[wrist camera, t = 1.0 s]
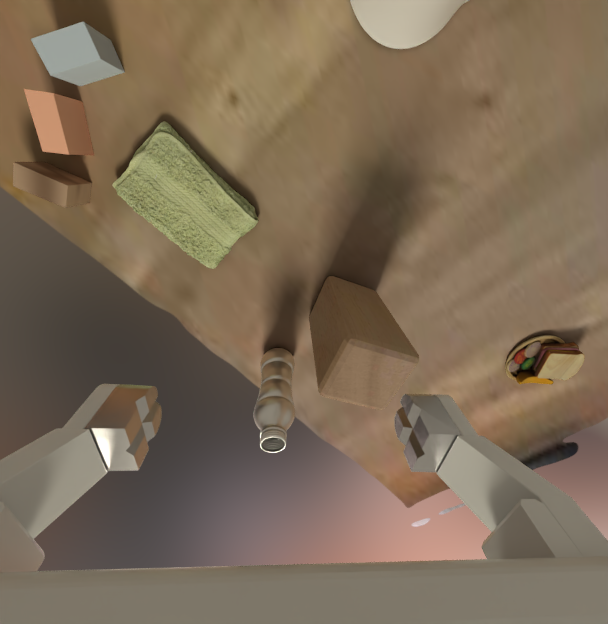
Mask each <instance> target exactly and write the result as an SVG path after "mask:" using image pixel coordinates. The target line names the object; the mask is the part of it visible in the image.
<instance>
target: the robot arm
mask: <svg viewBox="0 0 608 624" xmlns="http://www.w3.org/2000/svg"><path fill="white" fill-rule="evenodd" d="M467 1H469V0H350V2H351V5H352V8H353V10H354V13H355V15H356V17H357V19H358V21H359V23H360V24H361V26H362V27H363V29H364V30H365V31H366V32H367V33H368V35H369V36H370V37H372V38H373V39H374V40H375V41H377V42H378V43H380V44H382V45H384V46H387V47H390V48H395V49H407V48H412V47H415V46H418V45H420V44H422V43H424V42H426V41H428V40H429V39H431V38H432V37H433V36H435V35H436V34H437V33H438V32H439V31H440V30H441V29H442V28H443V27H444V26H445V25H446V24H447V23H448V21H449V20H450V19H451V17H452V16H453V15H454V13H455V12H456V11H457V10H458V9H459V7H460V6H461V5H462V4H464V3H465V2H467ZM157 396H158V393H157V389H156V387H154V386H140V385H122V384H120V385H116V384H102V385H100V386H98V387H97V388H96V389H95V390H94V391H93V393H92V394H91V395H90V396H89V397H88V399H87V400H86V401H85V402H84V403H83V405H82V406H81V407H80V408H79V409H78V410H77V412H76V413H75V414H74V415H73V416H72V418H71V419H70V420H69V421H68V422H67V423H66V425H65V426H64V427H63V428H62V429H55V430H53V431H51V432H50V433H48V434H46V435H44V436H42V437H41V438H39V439H37V440H35V441H34V442H32V443H30V444H28V445H26V446H25V447H23V448H21V449H19V450H18V451H16V452H14V453H13V454H11V455H9V456H7V457H5V458H4V459H2V460H0V624H608V541H607V540H606V538H605V537H604V536H603V535H602V533H601V532H600V531H599V530H598V529H597V527H596V526H595V525H594V524H593V523H592V522H591V520H590V519H589V518H588V517H587V516H586V514H585V513H584V512H583V511H582V510H581V508H580V507H579V506H578V505H577V504H576V502H575V501H574V500H573V499H572V498H571V497H570V496H568V495H567V494H566V493H564V492H562V491H561V490H560V489H558V488H557V487H555V486H554V485H552V484H551V483H550V482H548V481H547V480H545V479H544V478H542V477H541V476H540V475H538V474H537V473H535V472H534V471H533V470H531V469H530V468H528V467H527V466H525V465H524V464H522V463H521V462H520V461H518V460H517V459H515V458H514V457H512V456H511V455H510V454H508V453H507V452H505V451H504V450H502V449H501V448H500V447H498V446H497V445H495V444H494V443H492V442H491V441H489V440H488V439H487V438H485V437H484V436H478V434H477V433H476V432H475V430H474V429H473V427H472V426H471V424H470V423H469V421H468V420H467V419H466V417H465V416H464V414H463V413H462V411H461V410H460V409H459V407H458V406H457V404H456V403H455V401H454V400H453V399H452V397H450V396H449V395H431V394H405V395H404V396H402V399H401V401H400V402H401V405H402V408H400V409H399V410H398V411H397V412H396V415H395V430H396V434H397V437H398V439H399V440H400V441H401V442H402V443H403V444H404V445H405V449H404V454H405V457H406V459H407V462H408V464H409V467H410V469H411V471H412V472H437V475H438V476H439V477H440V478H441V479H442V480H443V481H444V482H445V483H446V484H447V485H448V486H449V487H450V488H451V489H452V490H453V492H454V493H455V494H456V495H457V496H458V497H459V498H460V499H461V500H462V501H463V502H464V503H465V504H466V505H467V506H468V507H469V508H470V510H472V512H473V513H474V514H475V515H476V516H477V517H478V518H479V519H480V520H481V521H482V522H483V523H484V524H485V525H486V526H487V527H488V529H489V530H490V531H491V532H492V533H491V534H490V535H489V536H488V537H487V539H486V540H485V541H484V542H483V545H482V549H483V552H484V554H485V556H486V558H487V559H483V560H482V559H480V560H443V561H406V562H372V563H371V562H368V563H331V564H296V565H295V564H293V565H257V566H256V565H254V566H216V567H181V568H180V567H179V568H144V569H105V570H71V571H70V570H68V571H37V570H38V568H39V567H40V565H41V563H42V562H43V560H44V558H45V557H44V552H43V550H42V549H41V548H40V547H39V545H38V544H37V543H36V542H35V541H34V538H35V537H36V536H37V535H38V534H39V533H41V532H42V531H43V530H44V529H45V528H46V527H47V526H48V525H49V524H51V523H52V522H53V521H54V520H55V519H56V518H57V517H58V516H59V515H61V514H62V513H63V512H64V511H65V510H66V509H67V508H68V507H70V506H71V505H72V504H73V503H74V502H75V501H76V500H77V499H78V498H80V497H81V496H82V495H83V494H84V493H85V492H86V491H87V490H89V489H90V488H91V487H92V486H93V485H94V484H95V483H96V482H97V481H99V480H100V479H101V478H102V477H103V476H104V475H105V474H107V471H126V470H139V468H140V466H141V464H142V462H143V460H144V458H145V456H146V454H147V452H148V450H149V448H148V444H147V442H148V441H149V440H150V439H151V438H153V437H154V436H155V435H156V433H157V431H158V428H159V426H160V421H161V406H160V404H158V403H157V402H156V401H155V400H156V398H157Z"/></svg>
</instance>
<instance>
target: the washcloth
mask: <svg viewBox="0 0 608 624" xmlns="http://www.w3.org/2000/svg"><path fill="white" fill-rule="evenodd" d="M113 187H114V188H115V189H116V190H117V194H118V195H119V196H121V197H122V199H123V200H125V201H126V203H127V204H128V205H130V206H131V207H132V208H133V210H134V211H135V212H136V213H138V214H139V215H141V216H143V217H144V218H145V219H146V220H148V222H151V223H152V224H153V226H155V227H156V228H158V230H159V231H161V232H163V234H164V235H166V236H167V237H168V238H169V239H170V240H171V241H173V242H174V243H175V244H178V246H180V248H181V249H182V250H183V251H185V252H187V254H188V255H191V256H192V257H193V258H195V259H197V260H198V261H199V262H200V263H202V264H204V265H205V266H207V267H208V268H213V269H214V268H215V267H217V265H219V262H220V261H221V260H223V259H224V257H225V255H226V254H228V253H229V252H230V250H231V247H232V245H234V243H235V242H236V241H237V240H238V239H239V238H240V237H242V236H243V235H245V234H246V233H247V232H248V231H250V230H251V229H252V228H254V227H255V225H256V224H257V223H258V221H259V220H258V218H257V216H256V214H255V208H254V207H253V206H252V205H250V203H248V201H247V199H245V198H243V196H241V195H240V194H238V193H237V192H236V191H235V190H233V189H232V188H231V187H230V186H229V185H228V184H227V183H226V182H225V181H223V179H222V178H221V177H219V176H217V174H216V173H215V172H213V170H212V169H211V168H209V165H208V164H207V163H205V161H202V159H200V157H199V156H198V155H197V154H196V153H195V152H194V151H193V150H192V149H191V148H190V146H189V145H188V144H187V143H186V142H185V141H184V139H183V138H182V137H179V135H178V133H177V132H176V131H175V130H174V129H173V128H172V127H171V125H170V124H168V123H167V122H165V121H164V122H161V123H160V125H158V127H157V128H156V129H155V130H154V132H153V134H152V135H151V136H150V137H149V138H148V139H147V140H146V141H145V142H144V143H143V144H142V145H141V146H140V148H139V149H138V150H137V151H136V152H135V154H134V156H133V158H132V160H131V161H130V164H129V167H128V168H127V169H126V171H125V172H124V173H123V174H122V176H121V177H120V178H118V179H117V180H116V181H115V182H114V183H113Z"/></svg>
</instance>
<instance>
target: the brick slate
mask: <svg viewBox="0 0 608 624" xmlns="http://www.w3.org/2000/svg"><path fill="white" fill-rule="evenodd" d="M31 41H32V42H33V44H34V46H35V48H36V50H37V52H38V53H39V55H40V57H41V59H42V61H43V63H44V65H45V66H46V68H47V70H48V72H49V74H50V76H53V77H56V78H59V79H62V80H64V81H67V82H70V83H73V84H76V85H78V86H83V85H86V84H89V83H92V82H96V81H99V80H102V79H105V78H108V77H111V76H115V75H118V74H121V73H124V69H123V67H122V65H121V62H120V60H119V58H118V55H117V53H116V51H115V49H114V46H113V44H112V42H111V40H110V39H108V38H107V37H106V36H104V35H103V34H101V33H100V32H98V31H97V30H95V29H94V28H92V27H91V26H89V25H88V24H86V23H85V22H80V23H77V24H74V25H71V26H68V27H65V28H62V29H59V30H56V31H53V32H50V33H47V34H44V35H41V36H38V37H35V38H32V39H31Z"/></svg>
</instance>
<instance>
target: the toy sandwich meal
mask: <svg viewBox="0 0 608 624" xmlns="http://www.w3.org/2000/svg"><path fill="white" fill-rule="evenodd" d="M584 358H585V356H584V354H583V353H582V352H580V351H579V348H578V345H576V344H575V343H574V342H572V343H568V344H565V342H564V341H563V340H562V339H561V338H559V337H556V336H552V335H544V336H538V337H534V338H531V339H528V340H526V341H524V342H522V343H521V344H519V345H518V346H517V347H516V348H515V349H514V350H513V351H512V352H511V353H510V355H509V356H508V358H507V361H506V366H505V370H506V373H507V375H508V376H509V377H510V378H511V379H513V380H516V381H517V382H518V383H519V384H523V383H542V384H553V381H552V380H551V379H561V380H568V379H570V378H571V377H572V376H574V375H575V374H576V373H577V372H578V370H579V369H580V368H581V366H582V364H583V362H584Z"/></svg>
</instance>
